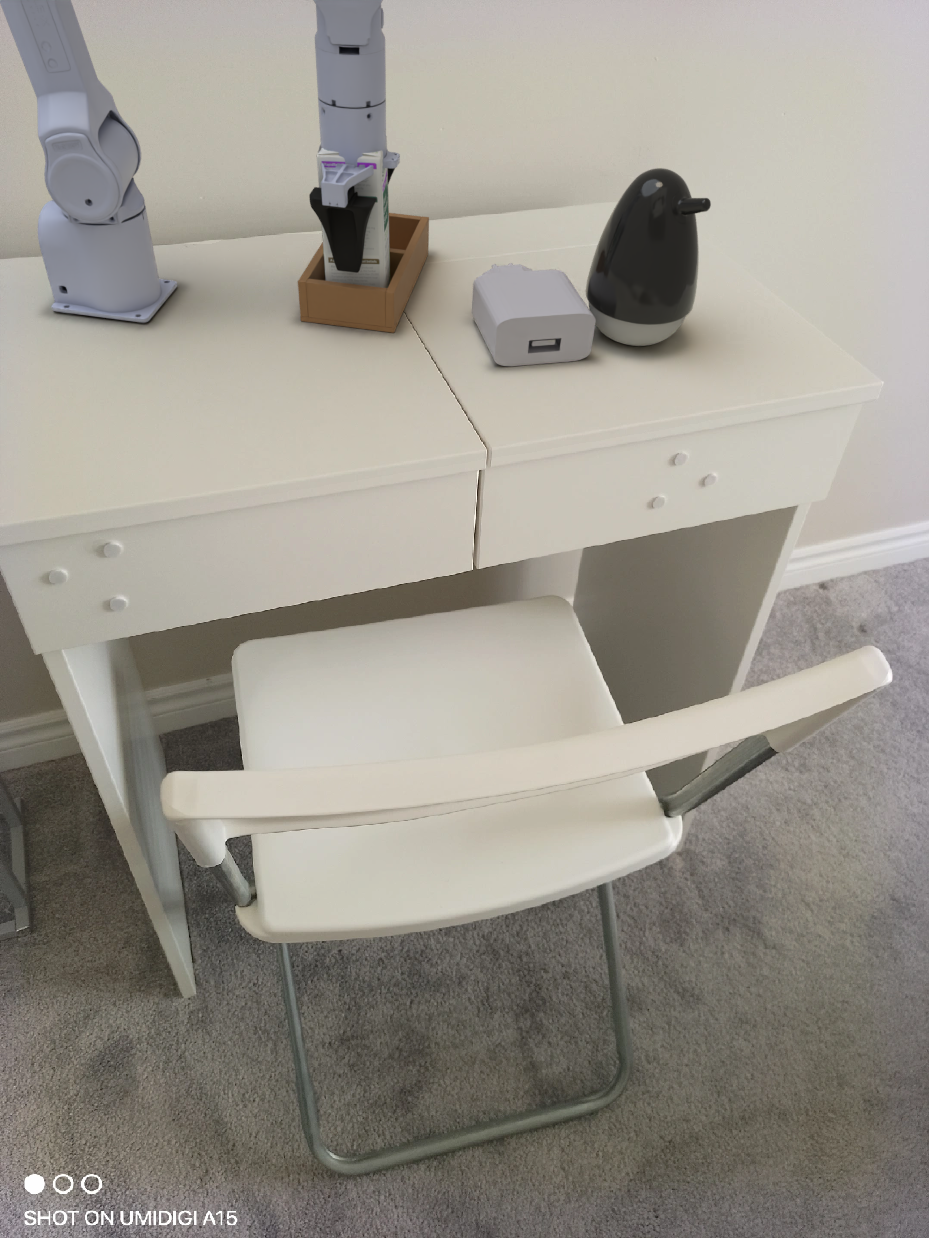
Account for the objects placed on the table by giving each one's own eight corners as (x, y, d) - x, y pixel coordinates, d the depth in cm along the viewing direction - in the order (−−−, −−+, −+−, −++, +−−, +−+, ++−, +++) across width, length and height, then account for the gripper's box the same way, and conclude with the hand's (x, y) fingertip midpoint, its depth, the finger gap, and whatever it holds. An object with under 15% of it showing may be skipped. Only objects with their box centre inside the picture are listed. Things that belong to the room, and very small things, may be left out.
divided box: (300, 321, 91) (297, 281, 88) (345, 244, 103) (344, 207, 100) (394, 333, 90) (393, 293, 87) (428, 254, 102) (429, 217, 99)
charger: (543, 285, 98) (589, 360, 88) (456, 291, 97) (493, 368, 86) (548, 240, 95) (597, 312, 85) (458, 245, 93) (497, 319, 83)
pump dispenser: (638, 372, 87) (672, 204, 76) (558, 327, 92) (579, 163, 82) (708, 339, 92) (749, 177, 81) (628, 297, 97) (656, 140, 87)
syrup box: (386, 313, 91) (385, 155, 81) (324, 310, 91) (315, 151, 81) (390, 286, 95) (389, 131, 85) (331, 282, 95) (323, 127, 85)
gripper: (379, 131, 75) (381, 294, 85) (415, 76, 85) (413, 227, 95) (292, 122, 75) (304, 285, 85) (338, 68, 86) (344, 219, 95)
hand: (357, 254), depth 90 cm, fingers closed on syrup box, 6 cm apart
